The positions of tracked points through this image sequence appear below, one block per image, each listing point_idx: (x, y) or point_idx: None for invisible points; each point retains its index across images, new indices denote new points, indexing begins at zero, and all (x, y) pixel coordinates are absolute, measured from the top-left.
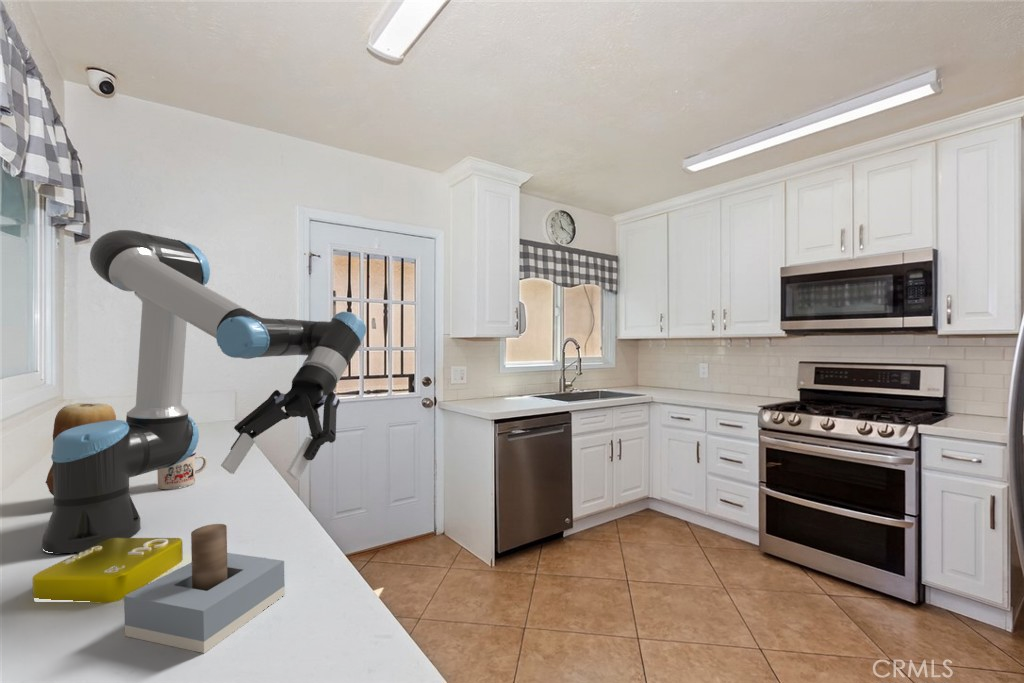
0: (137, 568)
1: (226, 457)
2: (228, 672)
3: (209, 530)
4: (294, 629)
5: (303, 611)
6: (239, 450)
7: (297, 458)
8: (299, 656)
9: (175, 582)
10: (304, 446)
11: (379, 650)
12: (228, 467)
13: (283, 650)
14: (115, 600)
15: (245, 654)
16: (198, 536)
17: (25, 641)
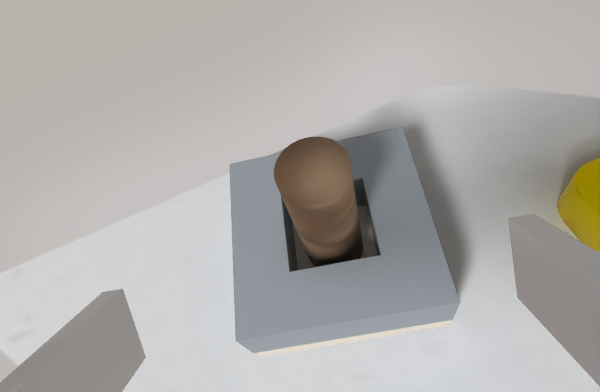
0: (596, 216)
1: (555, 229)
2: (187, 194)
3: (306, 165)
4: (165, 288)
5: (184, 331)
6: (575, 298)
7: (62, 331)
8: (119, 250)
9: (370, 184)
10: (2, 382)
11: (17, 306)
12: (513, 250)
13: (149, 248)
14: (558, 199)
15: (193, 221)
16: (299, 141)
17: (523, 102)
